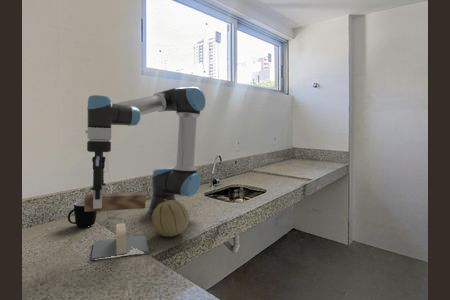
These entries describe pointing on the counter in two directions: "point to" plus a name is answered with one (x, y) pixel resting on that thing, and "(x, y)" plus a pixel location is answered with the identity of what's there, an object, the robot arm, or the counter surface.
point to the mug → (82, 215)
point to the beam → (117, 201)
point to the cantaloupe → (170, 218)
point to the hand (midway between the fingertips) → (98, 205)
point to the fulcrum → (119, 244)
